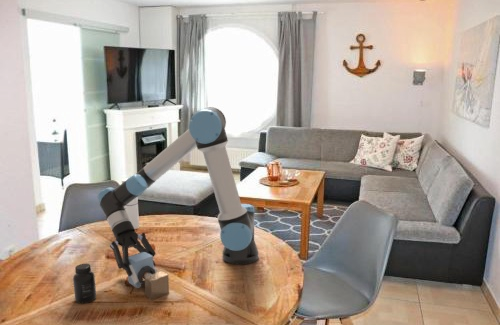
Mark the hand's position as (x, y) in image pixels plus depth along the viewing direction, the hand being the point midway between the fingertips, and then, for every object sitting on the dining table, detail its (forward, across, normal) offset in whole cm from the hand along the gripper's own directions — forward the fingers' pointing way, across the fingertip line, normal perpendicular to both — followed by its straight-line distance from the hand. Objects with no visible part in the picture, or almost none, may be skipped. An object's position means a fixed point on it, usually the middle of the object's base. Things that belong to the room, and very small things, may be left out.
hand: (146, 279), depth 151 cm
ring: (+1, 0, -1) cm, 2 cm away
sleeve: (0, 0, -5) cm, 5 cm away
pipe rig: (0, 0, -5) cm, 5 cm away
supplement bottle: (-3, +19, -8) cm, 21 cm away
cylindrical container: (-40, -29, -46) cm, 67 cm away
